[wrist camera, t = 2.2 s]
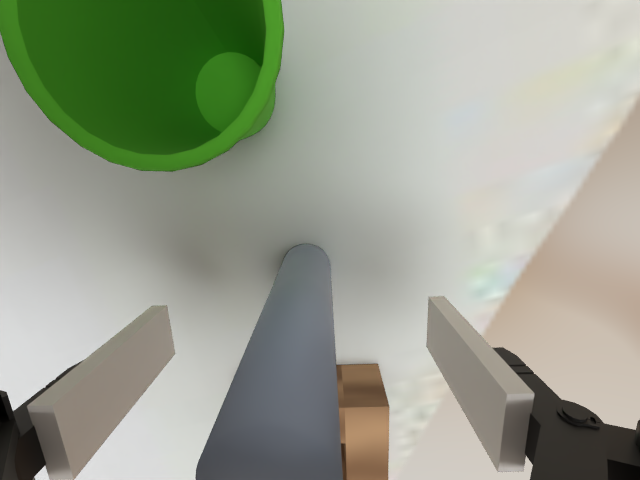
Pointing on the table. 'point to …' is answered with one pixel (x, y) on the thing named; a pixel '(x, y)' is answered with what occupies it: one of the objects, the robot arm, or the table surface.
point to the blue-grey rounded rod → (283, 386)
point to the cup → (149, 73)
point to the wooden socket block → (363, 422)
